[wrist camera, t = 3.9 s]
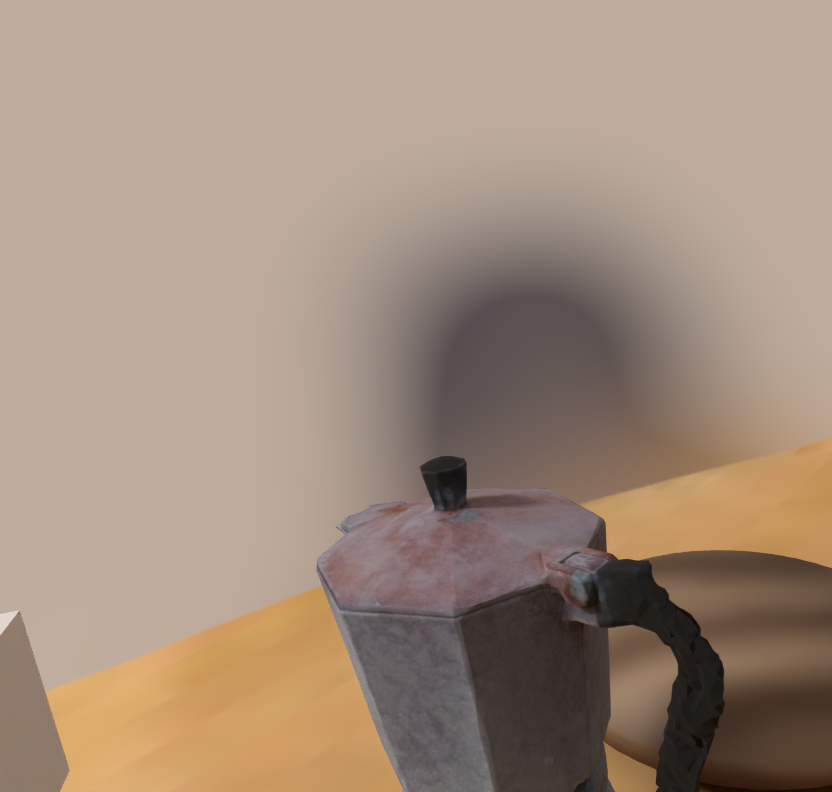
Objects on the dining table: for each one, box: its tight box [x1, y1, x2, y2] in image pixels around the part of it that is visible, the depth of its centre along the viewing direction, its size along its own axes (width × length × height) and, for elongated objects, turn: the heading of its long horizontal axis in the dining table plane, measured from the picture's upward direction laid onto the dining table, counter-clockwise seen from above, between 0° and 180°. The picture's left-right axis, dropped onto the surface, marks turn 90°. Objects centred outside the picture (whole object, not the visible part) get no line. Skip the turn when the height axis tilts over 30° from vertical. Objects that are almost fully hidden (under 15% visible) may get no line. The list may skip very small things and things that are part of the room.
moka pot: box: [317, 456, 725, 792], centre depth 26 cm, size 10×15×20 cm, turn 46°
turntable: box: [604, 550, 832, 790], centre depth 41 cm, size 19×19×1 cm
